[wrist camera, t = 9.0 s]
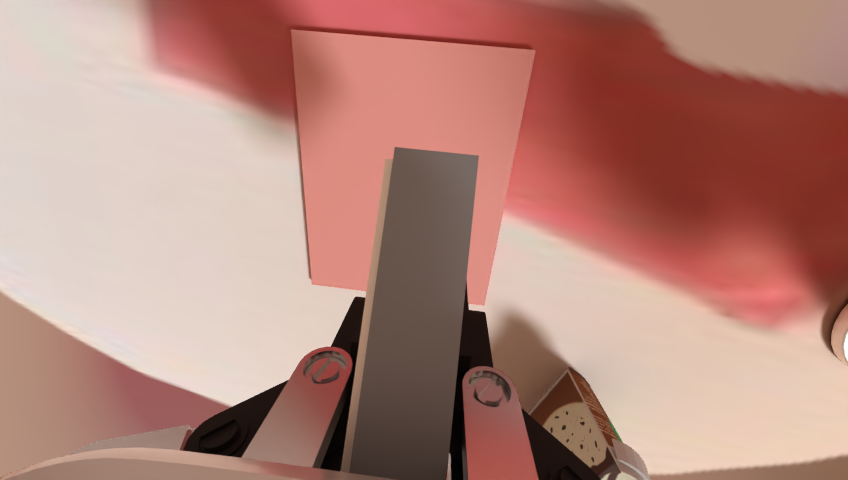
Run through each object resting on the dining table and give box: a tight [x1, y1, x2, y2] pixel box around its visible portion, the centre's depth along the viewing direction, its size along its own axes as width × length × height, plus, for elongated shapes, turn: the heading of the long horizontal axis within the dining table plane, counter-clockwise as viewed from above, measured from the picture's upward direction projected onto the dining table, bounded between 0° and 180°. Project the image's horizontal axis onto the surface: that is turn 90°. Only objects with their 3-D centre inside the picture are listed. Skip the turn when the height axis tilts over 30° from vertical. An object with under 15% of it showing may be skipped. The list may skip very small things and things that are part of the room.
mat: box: [291, 29, 536, 305], centre depth 25 cm, size 16×20×1 cm
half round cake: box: [528, 368, 650, 480], centre depth 29 cm, size 12×6×10 cm, turn 158°
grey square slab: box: [341, 147, 479, 480], centre depth 11 cm, size 2×9×8 cm
